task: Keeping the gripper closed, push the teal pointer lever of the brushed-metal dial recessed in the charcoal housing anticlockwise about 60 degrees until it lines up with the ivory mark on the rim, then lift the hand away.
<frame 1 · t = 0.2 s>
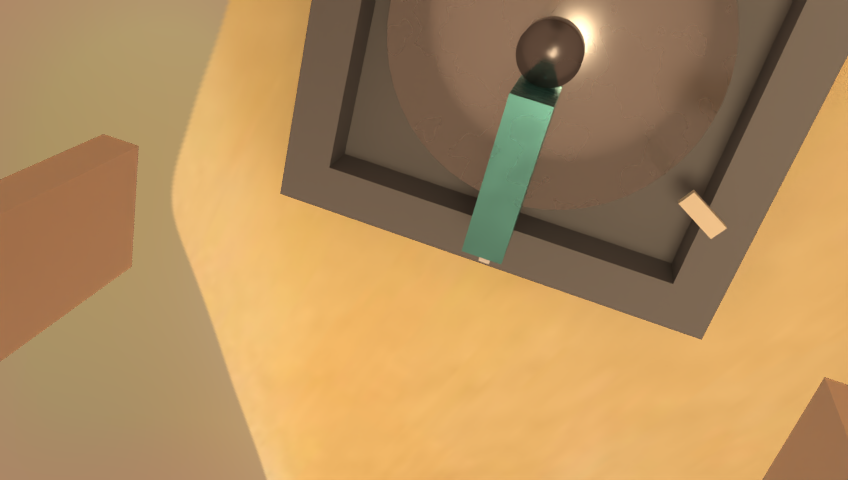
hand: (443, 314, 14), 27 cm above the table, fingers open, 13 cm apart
housing: (560, 35, 38), on the table
dial: (545, 68, 34), point 4 cm above the table, hinge at 0.0°
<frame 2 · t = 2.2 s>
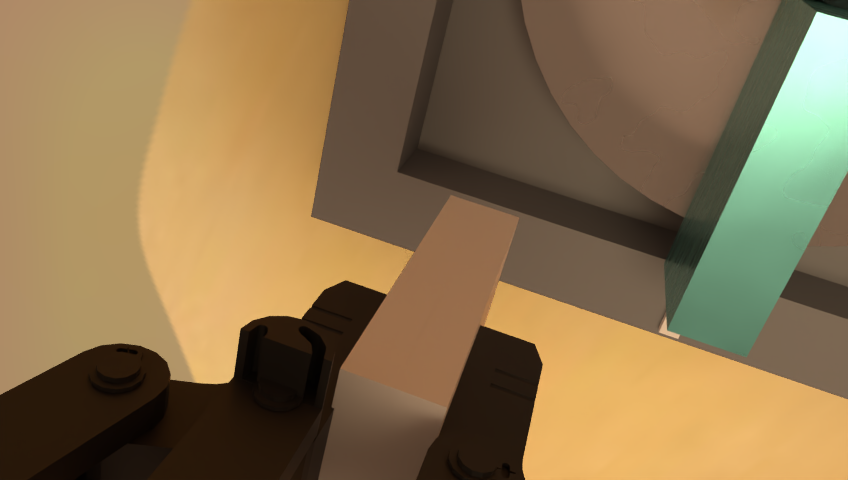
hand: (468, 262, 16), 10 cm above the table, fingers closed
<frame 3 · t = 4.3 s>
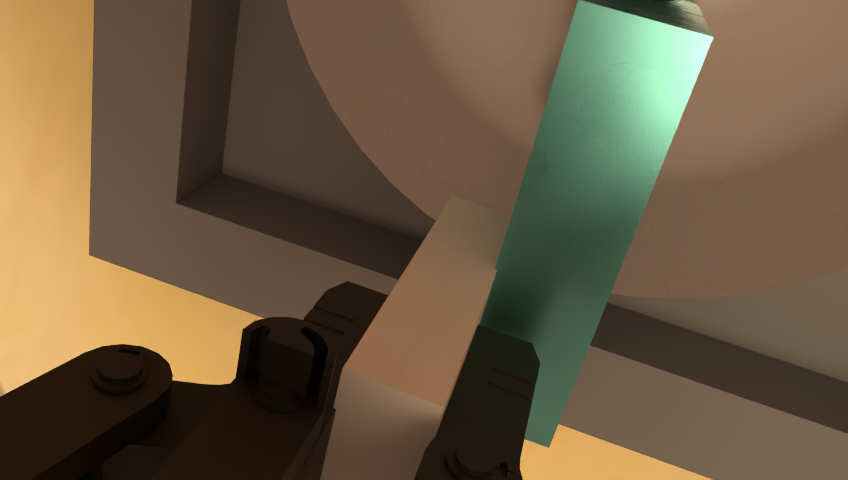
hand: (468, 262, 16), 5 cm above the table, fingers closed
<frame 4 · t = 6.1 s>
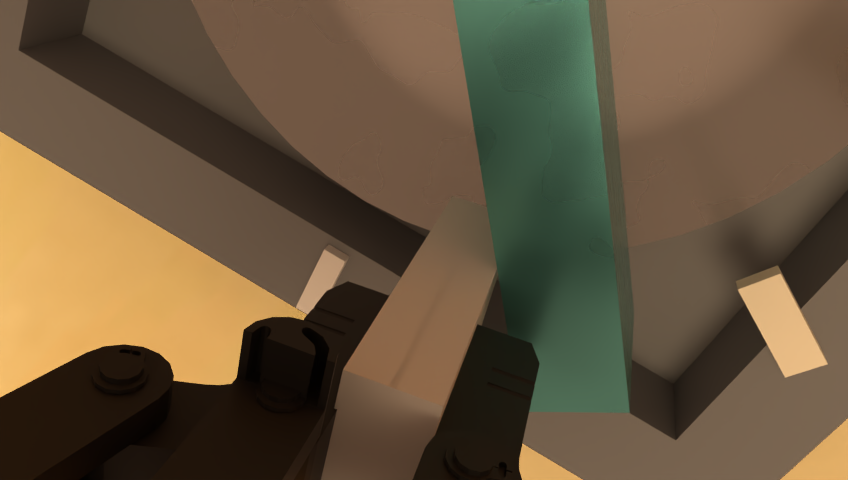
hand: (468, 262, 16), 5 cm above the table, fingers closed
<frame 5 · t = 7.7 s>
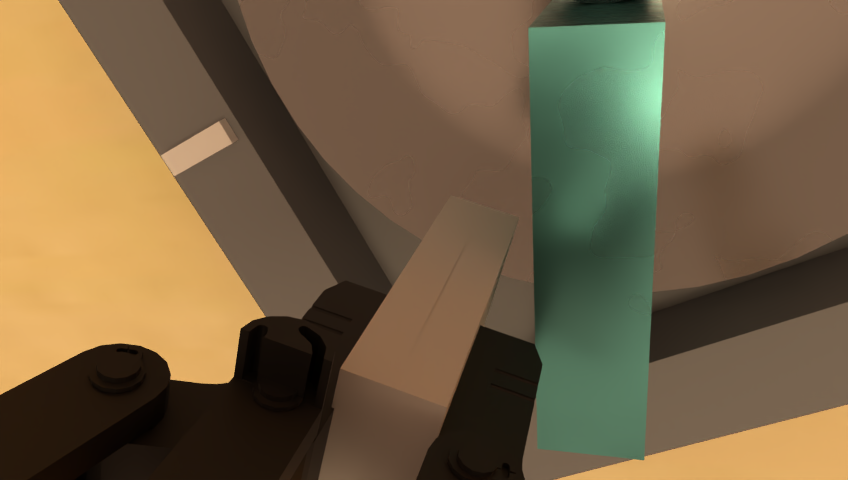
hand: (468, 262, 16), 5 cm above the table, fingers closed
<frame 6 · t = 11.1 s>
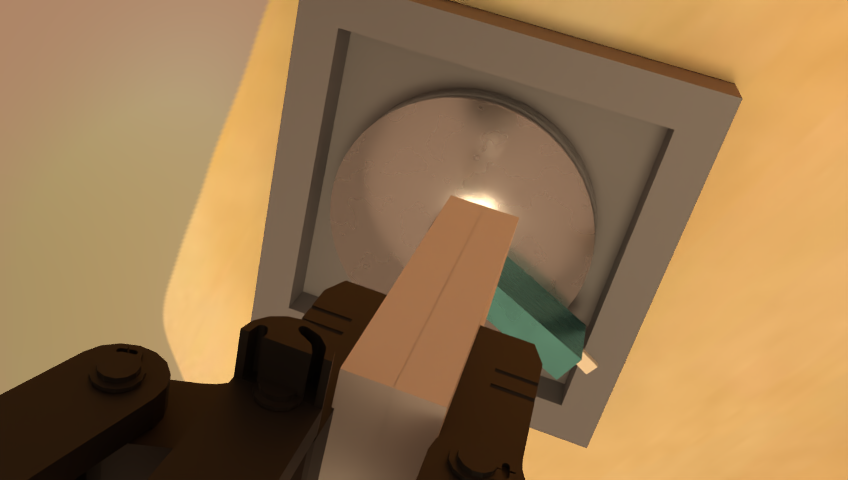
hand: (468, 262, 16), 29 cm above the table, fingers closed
housing: (469, 209, 48), on the table
dial: (463, 244, 44), point 4 cm above the table, hinge at 64.6°
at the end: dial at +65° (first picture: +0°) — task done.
